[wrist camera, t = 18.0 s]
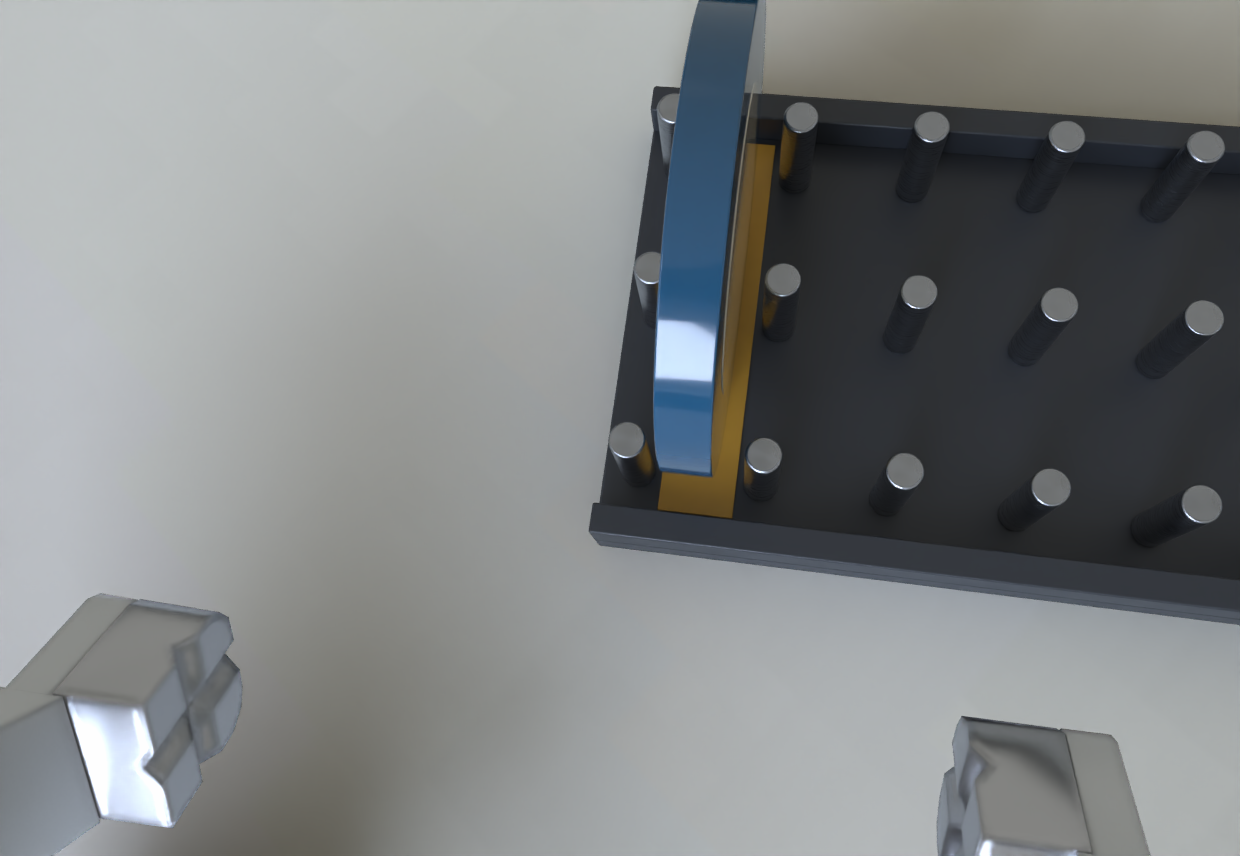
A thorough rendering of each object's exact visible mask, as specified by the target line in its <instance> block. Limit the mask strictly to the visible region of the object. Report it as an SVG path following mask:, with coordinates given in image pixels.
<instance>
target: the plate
mask: <svg viewBox="0 0 1240 856" xmlns="http://www.w3.org/2000/svg"><path fill="white" fill-rule="evenodd" d="M765 34H766V0H699V1H698V4H697V7H696V11H695V15H694V19H693V23H692V27H691V32H690V37H689V41H688V46H687V51H686V57H685V63H684V68H683V74H682V80H681V86H680V93H679V99H678V106H677V113H676V120H675V128H674V135H673V143H672V150H671V159H670V167H669V176H668V184H667V194H666V204H665V213H664V223H663V234H662V245H661V257H660V269H659V283H658V296H657V312H656V329H655V351H654V382H653V424H654V443H655V453H656V459H657V464H658V467H659V469H660V471H661V472H664V473H671V474H680V475H689V476H697V477H706V478H713V477H714V475H715V473H716V470H717V467H718V463H719V458H720V453H721V448H722V443H723V437H724V431H725V425H726V418H727V412H728V405H729V398H730V391H731V384H732V377H733V370H734V362H735V354H736V346H737V338H738V330H739V322H740V314H741V305H742V297H743V288H744V279H745V270H746V261H747V251H748V242H749V232H750V223H751V213H752V202H753V192H754V182H755V171H756V160H757V149H758V137H759V125H760V112H761V99H762V85H763V71H764V54H765Z"/></svg>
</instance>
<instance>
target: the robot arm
mask: <svg viewBox="0 0 1240 856" xmlns="http://www.w3.org/2000/svg"><path fill="white" fill-rule="evenodd" d="M233 640H234V638H233V633H232V629H231V625H230V621H229V617H227V616H225V615H224V614H222V613H220V612H215V611H209V610H203V609H197V608H191V607H185V606H179V605H173V604H167V603H161V602H155V601H149V600H143V599H140V600H136V599H131V598H125V597H119V596H113V595H108V594H102V593H100V594H98V595H95V596H93V597H90V598H88V599H87V600H86V601H85V602H84V603H83V604H82V605H81V606H80V607H79V608H78V609H77V611H76V612H75V613H74V614H73V615H72V616H71V617H70V618H69V619H68V620H67V621H66V622H65V624H64V625H63V626H62V627H61V628H60V629H59V630H58V631H57V632H56V633H55V634H54V636H53V637H52V638H51V639H50V640H49V641H48V642H47V643H46V644H45V645H44V646H43V648H42V649H41V650H40V651H39V652H38V653H37V654H36V655H35V656H34V657H33V658H32V659H31V661H30V662H29V663H28V664H27V665H26V666H25V667H24V668H23V669H22V670H21V671H20V673H19V674H18V675H17V676H16V677H15V678H14V679H13V680H12V681H11V682H10V683H9V685H8V686H7V687H6V688H3V687H0V856H53V855H54V854H56V853H57V852H59V851H60V850H62V849H63V848H64V847H66V846H67V845H69V844H70V843H72V842H73V841H74V840H76V839H77V838H79V837H80V836H81V835H83V834H84V833H86V832H87V831H89V830H90V829H91V828H93V827H94V826H96V825H97V824H98V823H100V819H99V818H102V819H109V820H117V821H124V822H131V823H139V824H146V825H153V826H160V827H168V828H173V827H174V826H175V824H176V822H177V821H178V819H179V818H180V816H181V815H182V813H183V811H184V810H185V808H186V807H187V805H188V804H189V802H190V800H191V799H192V797H193V796H194V794H195V793H196V791H197V790H198V788H199V786H200V785H201V783H202V782H203V781H202V776H201V771H200V766H199V764H200V763H202V762H204V761H206V760H207V759H209V758H211V757H212V756H214V755H216V754H218V753H219V752H221V751H222V750H223V748H224V747H225V745H226V743H227V742H228V740H229V738H230V737H231V735H232V733H233V732H234V729H235V726H236V723H237V719H238V716H239V713H240V710H241V706H242V688H243V686H242V680H241V674H240V669H239V668H238V667H237V666H236V665H235V664H234V663H233V662H232V661H231V660H230V658H229V657H228V656H227V655H226V654H225V652H226V651H227V649H228V648H229V646H230V645H231V643H232V642H233ZM952 746H953V756H954V765H955V766H954V767H953V768H951V769H950V770H949V771H947V772H946V773H945V774H944V778H943V783H942V788H941V792H940V797H939V806H938V816H937V850H938V856H1151V855H1150V852H1149V848H1148V845H1147V842H1146V838H1145V835H1144V831H1143V828H1142V824H1141V821H1140V817H1139V814H1138V811H1137V807H1136V804H1135V800H1134V797H1133V793H1132V790H1131V787H1130V783H1129V780H1128V776H1127V773H1126V769H1125V766H1124V762H1123V759H1122V756H1121V752H1120V749H1119V745H1118V742H1117V741H1116V740H1115V739H1114V738H1113V737H1112V735H1108V734H1100V733H1092V732H1085V731H1077V730H1069V729H1060V730H1058V729H1056V728H1049V727H1042V726H1034V725H1027V724H1019V723H1011V722H1004V721H996V720H989V719H981V718H974V717H966V716H961V718H960V720H959V722H958V724H957V727H956V730H955V734H954V738H953V742H952Z"/></svg>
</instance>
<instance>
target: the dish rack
mask: <svg viewBox="0 0 1240 856" xmlns="http://www.w3.org/2000/svg"><path fill="white" fill-rule="evenodd" d="M679 93H680V88H674V87H659V86H656V87H654V90H653V97H652V104H651V115H652V122H653V129H654V132H653V139H652V146H651V153H650V159H649V166H648V173H647V180H646V187H645V194H644V201H643V208H642V215H641V221H640V228H639V235H638V242H637V249H636V256H635V263H634V270H633V276H632V283H631V290H630V297H629V304H628V311H627V318H626V325H625V331H624V338H623V345H622V352H621V359H620V366H619V373H618V380H617V386H616V393H615V400H614V407H613V414H612V421H611V428H610V435H609V440H608V448H607V455H606V462H605V469H604V476H603V483H602V490H601V496H600V503H593V505H592V512H591V519H590V526H589V532H590V534H591V535H592V536H593V538H594V539H595V540H596V541H597V543H598V544H599V545H601V546H609V547H617V548H625V549H633V550H641V551H649V552H657V553H665V554H674V555H682V556H690V557H698V558H706V559H714V560H722V561H730V562H738V563H746V564H754V565H762V566H770V567H778V568H786V569H794V570H803V571H811V572H819V573H827V574H835V575H843V576H851V577H859V578H867V579H875V580H883V581H891V582H899V583H907V584H915V585H923V586H932V587H940V588H948V589H956V590H964V591H972V592H980V593H988V594H996V595H1004V596H1012V597H1020V598H1028V599H1036V600H1044V601H1052V602H1061V603H1069V604H1077V605H1085V606H1093V607H1101V608H1109V609H1117V610H1125V611H1133V612H1141V613H1149V614H1157V615H1165V616H1173V617H1181V618H1189V619H1198V620H1206V621H1214V622H1222V623H1230V624H1238V625H1240V127H1234V126H1220V125H1206V124H1191V123H1177V122H1162V121H1148V120H1134V119H1119V118H1105V117H1091V116H1076V115H1062V114H1047V113H1033V112H1019V111H1004V110H990V109H976V108H961V107H947V106H932V105H918V104H904V103H889V102H875V101H861V100H846V99H832V98H817V97H803V96H789V95H774V94H762V99H761V112H760V125H759V137H758V149H757V160H756V171H755V182H754V192H753V202H752V213H751V223H750V232H749V242H748V251H747V261H746V270H745V279H744V288H743V297H742V305H741V314H740V322H739V330H738V338H737V346H736V354H735V362H734V370H733V377H732V384H731V391H730V398H729V405H728V412H727V418H726V425H725V431H724V437H723V443H722V448H721V453H720V458H719V463H718V467H717V470H716V473H715V475H714V477H713V478H706V477H697V476H689V475H680V474H671V473H664V472H661V471H660V469H659V467H658V464H657V459H656V453H655V443H654V424H653V382H654V351H655V329H656V312H657V296H658V283H659V269H660V257H661V245H662V234H663V223H664V213H665V204H666V194H667V184H668V176H669V167H670V159H671V150H672V143H673V135H674V128H675V120H676V113H677V106H678V99H679Z"/></svg>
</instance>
